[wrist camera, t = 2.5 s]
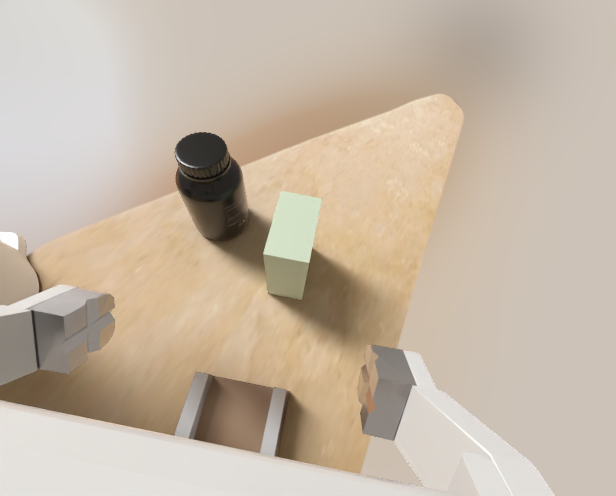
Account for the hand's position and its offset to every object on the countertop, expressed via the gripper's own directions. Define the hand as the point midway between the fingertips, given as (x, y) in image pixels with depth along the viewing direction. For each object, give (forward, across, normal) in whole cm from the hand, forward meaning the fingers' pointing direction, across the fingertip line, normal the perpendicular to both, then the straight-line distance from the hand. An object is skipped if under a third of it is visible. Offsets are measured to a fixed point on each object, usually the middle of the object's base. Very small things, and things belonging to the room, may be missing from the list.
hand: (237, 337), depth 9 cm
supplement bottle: (+28, +11, +3) cm, 30 cm away
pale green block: (+25, +1, +7) cm, 26 cm away
